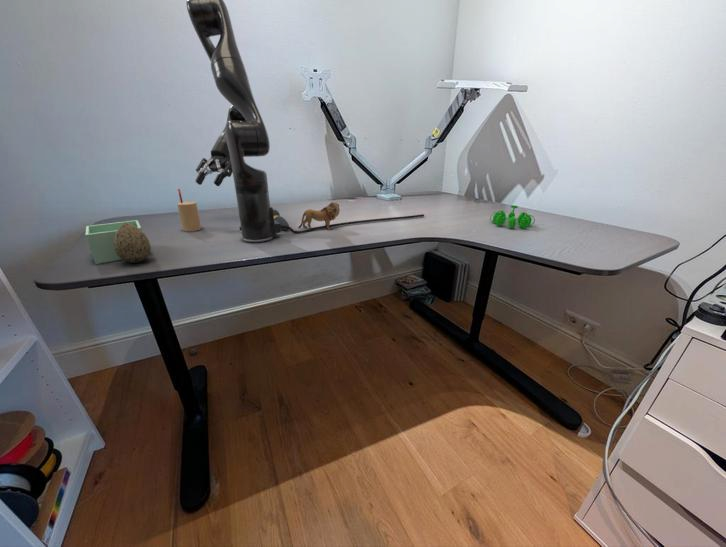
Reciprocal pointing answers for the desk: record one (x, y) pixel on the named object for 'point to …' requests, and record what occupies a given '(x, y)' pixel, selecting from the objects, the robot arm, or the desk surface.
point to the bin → (105, 240)
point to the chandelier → (512, 219)
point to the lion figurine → (321, 215)
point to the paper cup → (189, 215)
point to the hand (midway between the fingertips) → (207, 184)
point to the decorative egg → (131, 244)
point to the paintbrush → (280, 219)
